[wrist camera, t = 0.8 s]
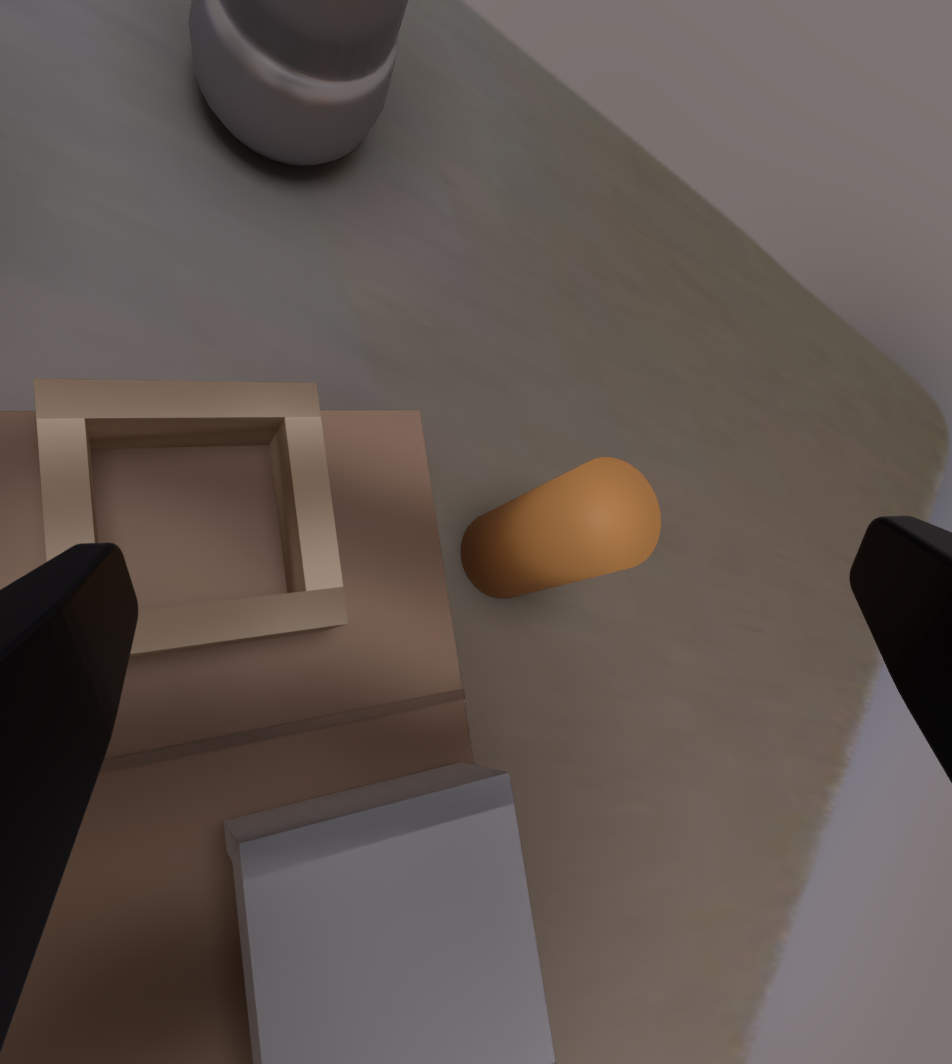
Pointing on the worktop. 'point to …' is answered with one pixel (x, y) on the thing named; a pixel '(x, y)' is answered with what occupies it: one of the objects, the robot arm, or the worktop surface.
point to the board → (221, 674)
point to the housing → (390, 925)
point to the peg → (564, 531)
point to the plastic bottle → (296, 71)
